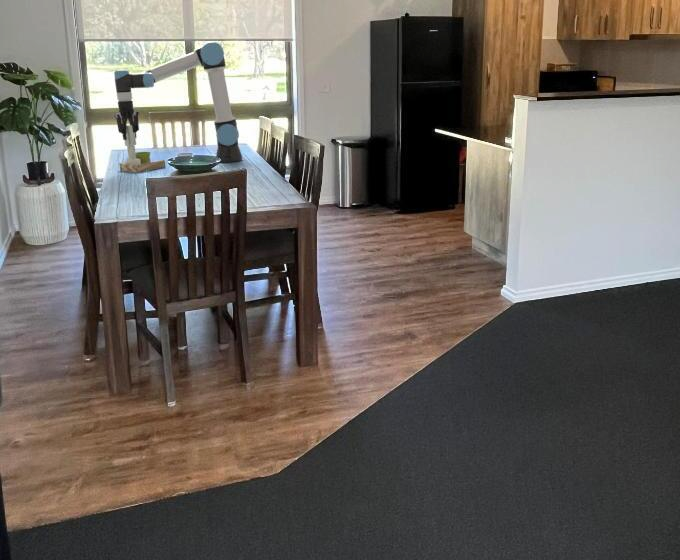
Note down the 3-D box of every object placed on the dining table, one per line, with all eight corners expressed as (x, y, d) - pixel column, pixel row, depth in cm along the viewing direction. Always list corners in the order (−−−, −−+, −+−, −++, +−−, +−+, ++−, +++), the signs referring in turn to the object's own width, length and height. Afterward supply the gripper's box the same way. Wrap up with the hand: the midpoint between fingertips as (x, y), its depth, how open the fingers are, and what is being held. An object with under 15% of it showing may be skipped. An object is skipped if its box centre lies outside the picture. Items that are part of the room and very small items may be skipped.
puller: (141, 170, 395) (135, 125, 388) (138, 170, 394) (132, 126, 387) (129, 168, 402) (123, 124, 395) (126, 169, 401) (120, 125, 394)
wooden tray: (165, 167, 405) (164, 160, 403) (136, 172, 391) (135, 165, 390) (149, 165, 414) (148, 158, 413) (120, 170, 400) (119, 163, 399)
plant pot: (148, 170, 398) (146, 154, 395) (131, 170, 399) (129, 154, 397) (155, 167, 406) (153, 151, 404) (139, 167, 408) (137, 151, 405)
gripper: (134, 98, 395) (139, 142, 402) (107, 101, 383) (113, 147, 390) (142, 99, 390) (148, 143, 398) (115, 102, 378) (121, 147, 386)
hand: (130, 145), depth 394 cm, fingers open, 4 cm apart
